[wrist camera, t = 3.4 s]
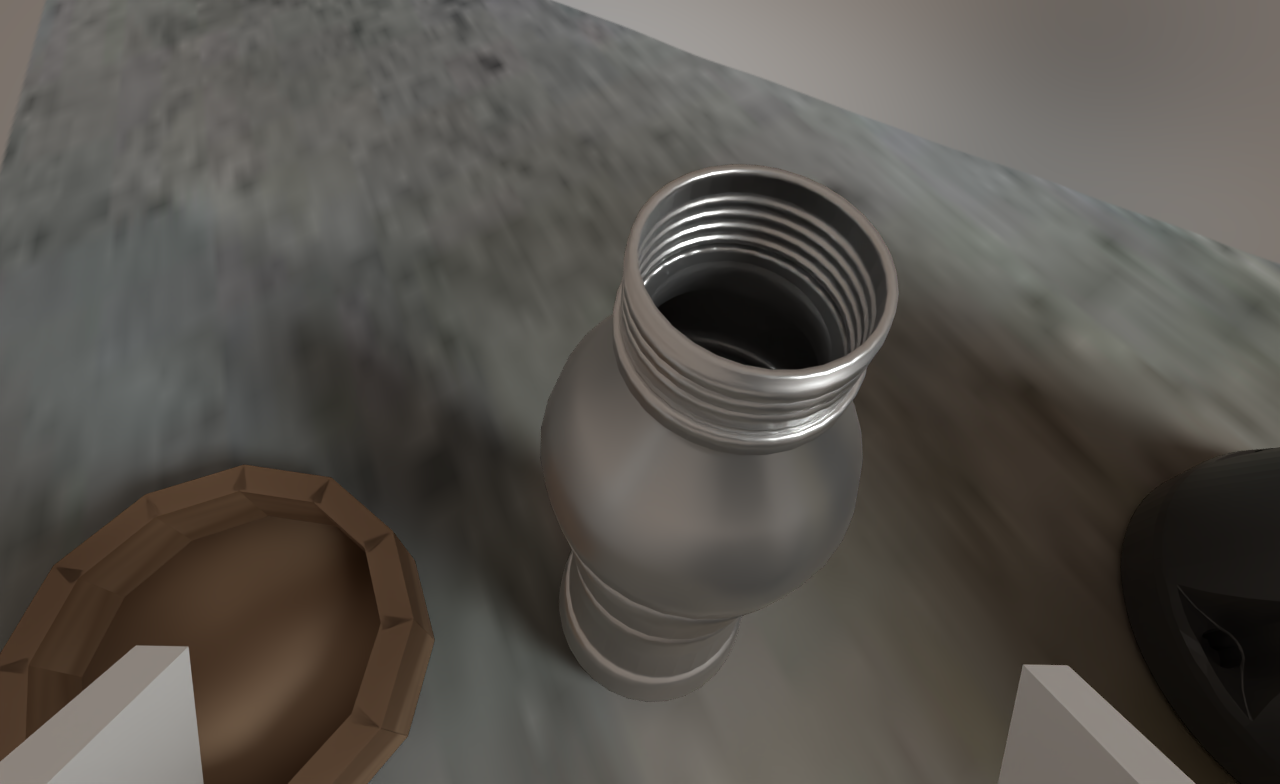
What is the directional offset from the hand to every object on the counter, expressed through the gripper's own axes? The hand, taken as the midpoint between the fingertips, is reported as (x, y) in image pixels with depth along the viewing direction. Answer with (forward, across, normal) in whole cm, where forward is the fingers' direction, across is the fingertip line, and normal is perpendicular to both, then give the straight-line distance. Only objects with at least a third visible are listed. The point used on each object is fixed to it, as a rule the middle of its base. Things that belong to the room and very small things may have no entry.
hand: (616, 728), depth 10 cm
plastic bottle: (+14, +2, -7) cm, 16 cm away
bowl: (+12, -12, -8) cm, 19 cm away
